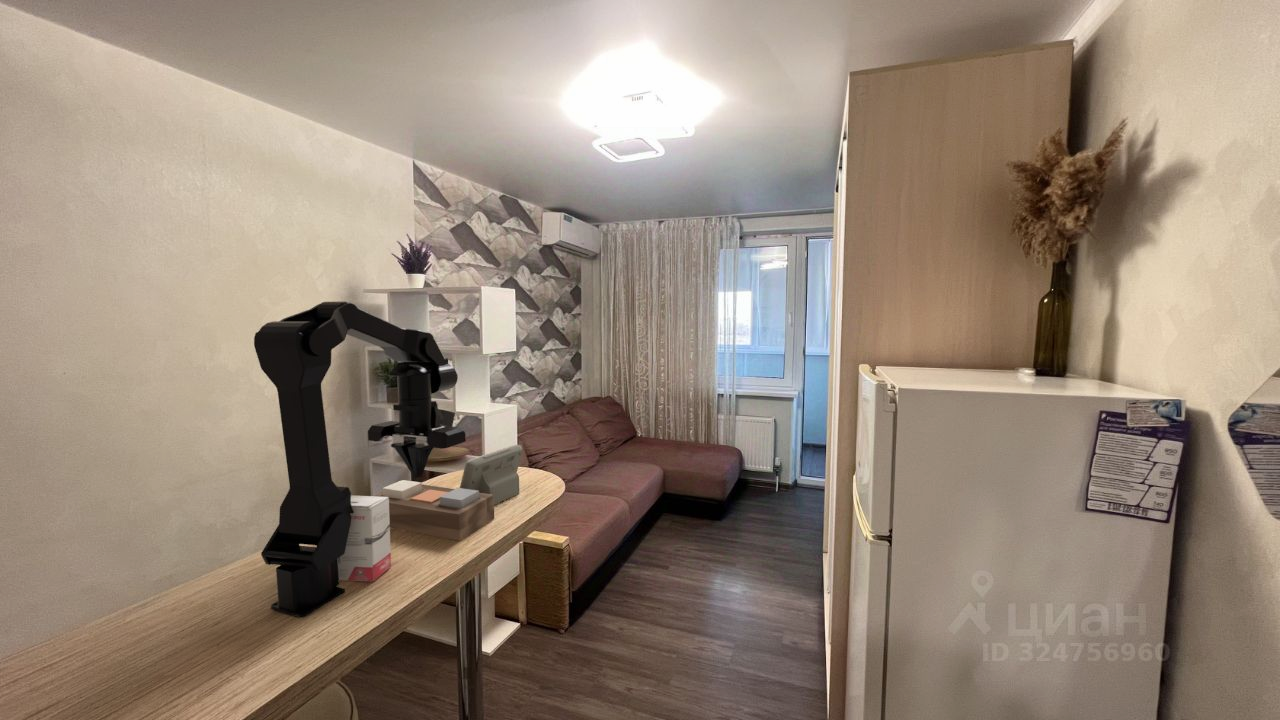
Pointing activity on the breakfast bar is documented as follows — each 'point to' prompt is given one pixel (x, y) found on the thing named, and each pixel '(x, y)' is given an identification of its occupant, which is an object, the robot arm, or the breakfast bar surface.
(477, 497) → the grey key
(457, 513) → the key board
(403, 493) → the cream key
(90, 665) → the breakfast bar surface
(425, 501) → the terracotta key
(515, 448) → the digital clock
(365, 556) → the ink box
